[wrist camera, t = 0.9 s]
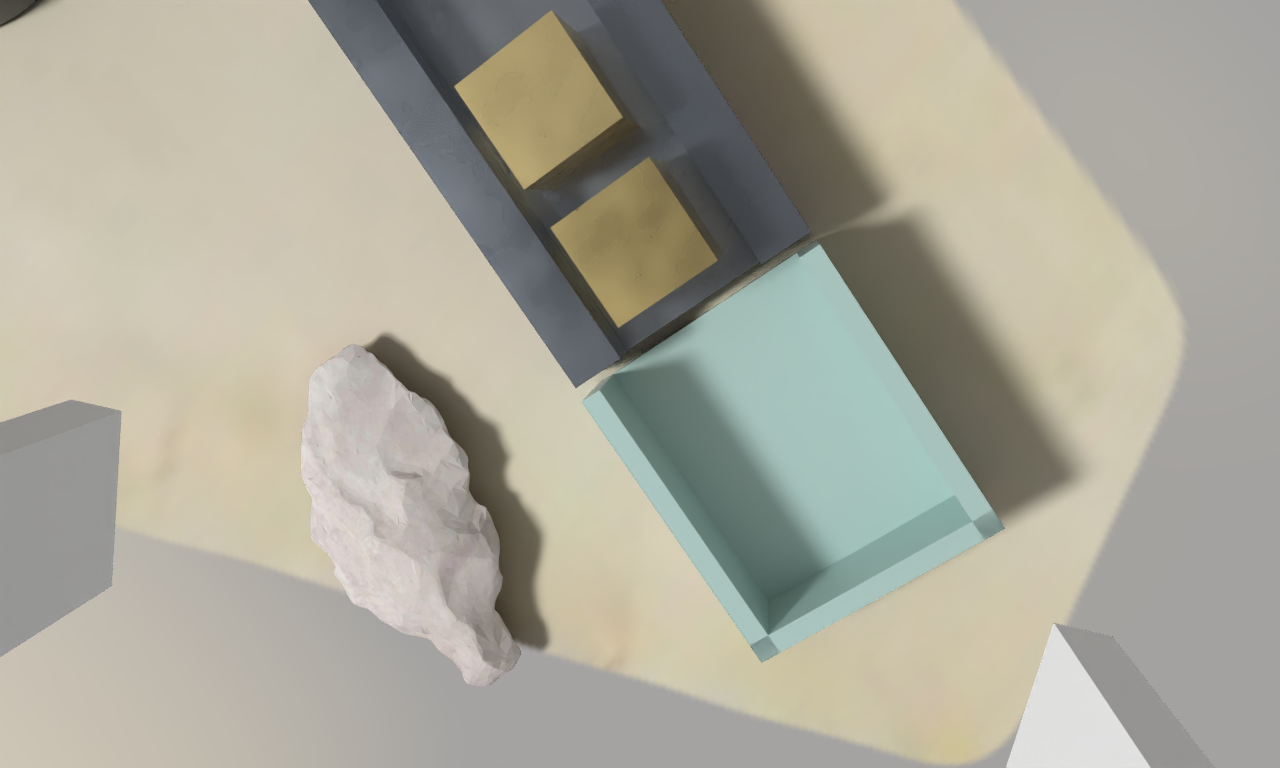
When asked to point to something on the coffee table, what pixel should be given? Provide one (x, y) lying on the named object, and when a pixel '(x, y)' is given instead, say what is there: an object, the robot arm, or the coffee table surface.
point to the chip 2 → (637, 240)
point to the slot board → (522, 219)
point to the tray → (791, 455)
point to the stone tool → (403, 514)
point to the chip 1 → (546, 104)
